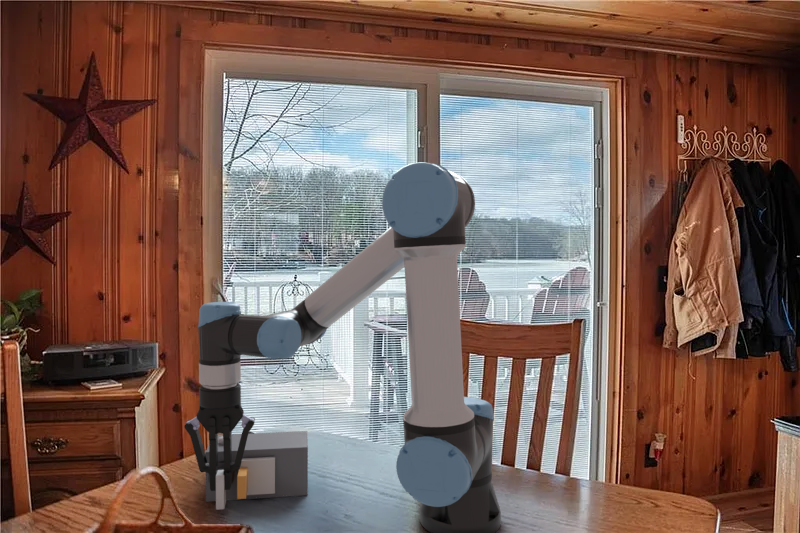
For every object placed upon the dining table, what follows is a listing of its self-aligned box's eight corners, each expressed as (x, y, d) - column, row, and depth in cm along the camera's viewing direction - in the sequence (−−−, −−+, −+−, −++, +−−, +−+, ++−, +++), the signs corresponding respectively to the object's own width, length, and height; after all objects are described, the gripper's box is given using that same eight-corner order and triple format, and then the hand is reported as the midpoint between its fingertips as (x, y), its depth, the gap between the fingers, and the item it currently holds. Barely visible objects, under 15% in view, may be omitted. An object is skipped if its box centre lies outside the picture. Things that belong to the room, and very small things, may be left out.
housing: (307, 498, 117) (307, 445, 116) (204, 505, 113) (204, 450, 113) (307, 475, 128) (307, 426, 128) (213, 480, 125) (213, 430, 124)
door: (273, 503, 111) (273, 467, 111) (236, 505, 110) (236, 469, 110) (275, 490, 117) (275, 456, 116) (239, 493, 116) (239, 458, 115)
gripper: (256, 378, 114) (257, 495, 115) (187, 380, 112) (188, 499, 113) (254, 387, 107) (254, 512, 108) (179, 390, 105) (181, 518, 106)
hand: (221, 505), depth 110 cm, fingers closed
